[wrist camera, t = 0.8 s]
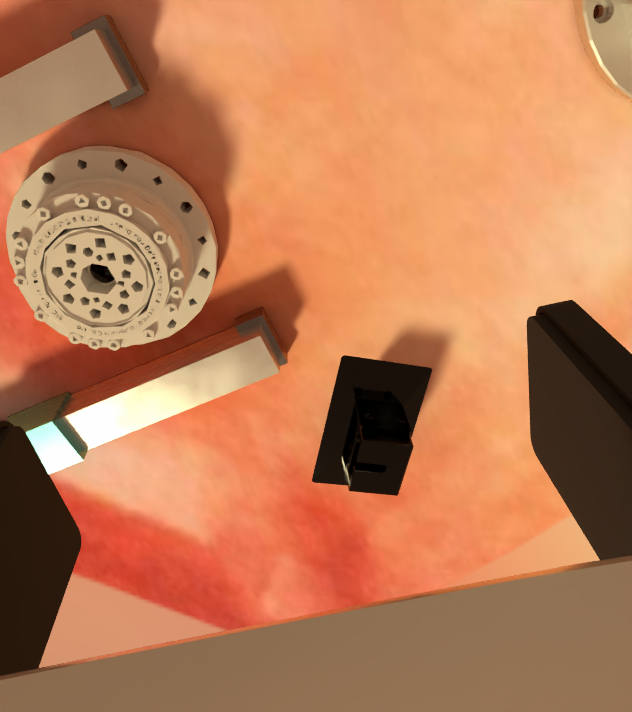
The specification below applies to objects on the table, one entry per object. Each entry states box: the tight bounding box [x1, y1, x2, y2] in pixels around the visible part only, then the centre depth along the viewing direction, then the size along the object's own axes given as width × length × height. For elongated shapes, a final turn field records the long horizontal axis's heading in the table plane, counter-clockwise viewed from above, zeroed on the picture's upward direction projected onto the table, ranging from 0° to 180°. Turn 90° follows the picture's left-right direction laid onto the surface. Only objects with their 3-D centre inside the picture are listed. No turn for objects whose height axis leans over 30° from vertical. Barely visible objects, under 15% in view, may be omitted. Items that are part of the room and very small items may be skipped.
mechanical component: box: [6, 146, 218, 351], centre depth 29 cm, size 10×4×10 cm
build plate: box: [312, 356, 432, 496], centre depth 36 cm, size 12×7×5 cm, turn 169°
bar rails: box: [0, 15, 288, 474], centre depth 30 cm, size 19×18×3 cm
